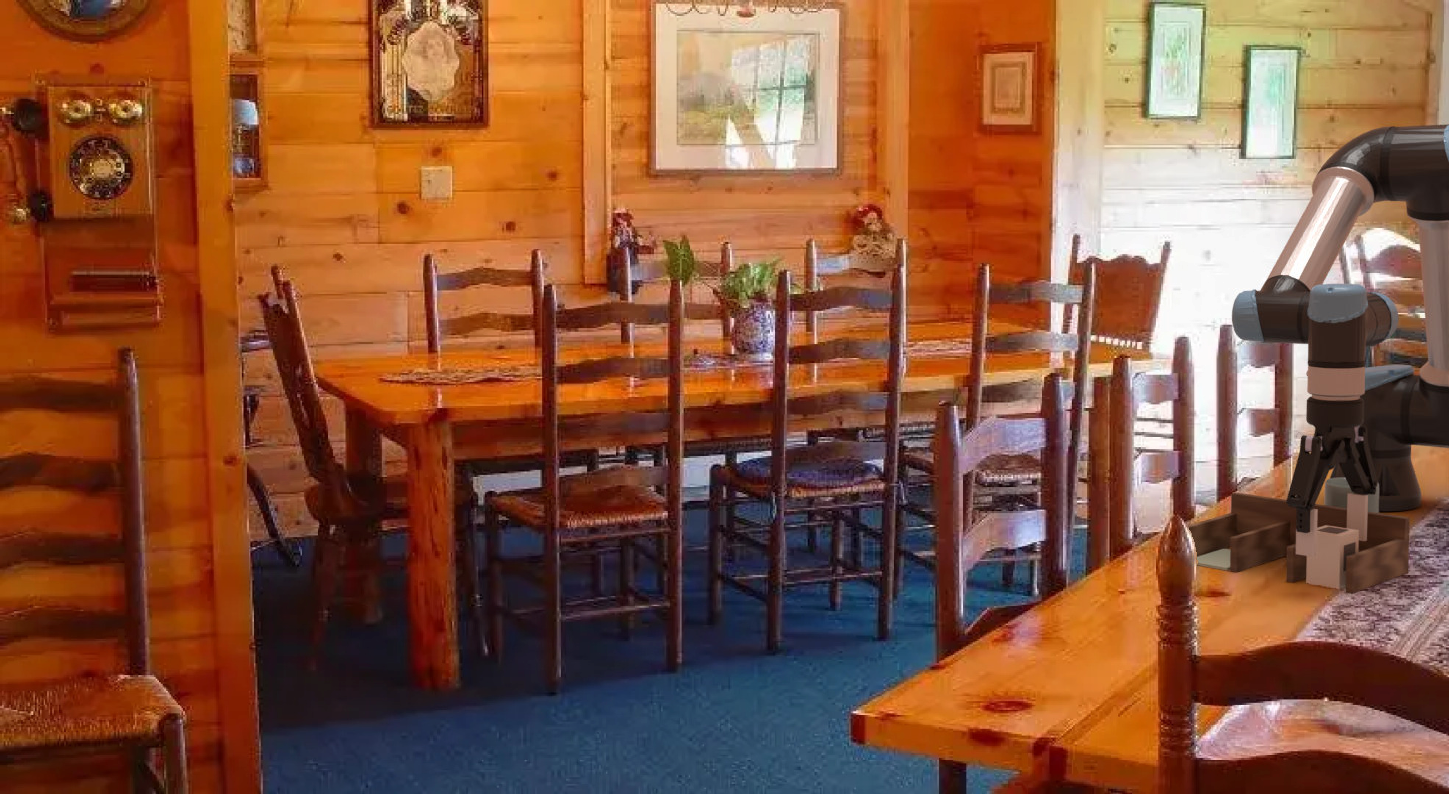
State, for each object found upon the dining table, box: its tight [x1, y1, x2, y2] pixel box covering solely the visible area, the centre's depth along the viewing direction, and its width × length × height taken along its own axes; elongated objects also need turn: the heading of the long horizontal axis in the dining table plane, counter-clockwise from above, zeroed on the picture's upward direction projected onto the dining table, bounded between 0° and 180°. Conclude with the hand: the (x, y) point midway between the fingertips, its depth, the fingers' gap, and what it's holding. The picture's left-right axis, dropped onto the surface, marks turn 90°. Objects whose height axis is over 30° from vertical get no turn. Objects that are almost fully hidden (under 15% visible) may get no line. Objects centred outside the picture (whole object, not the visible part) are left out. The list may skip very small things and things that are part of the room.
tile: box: [1197, 548, 1230, 571], centre depth 260 cm, size 10×7×1 cm
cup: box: [1323, 477, 1380, 513], centre depth 266 cm, size 8×8×10 cm
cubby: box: [1187, 492, 1411, 594], centre depth 254 cm, size 16×28×8 cm, turn 42°
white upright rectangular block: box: [1305, 525, 1359, 590], centre depth 245 cm, size 5×5×8 cm
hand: (1331, 547), depth 244 cm, fingers open, 13 cm apart
